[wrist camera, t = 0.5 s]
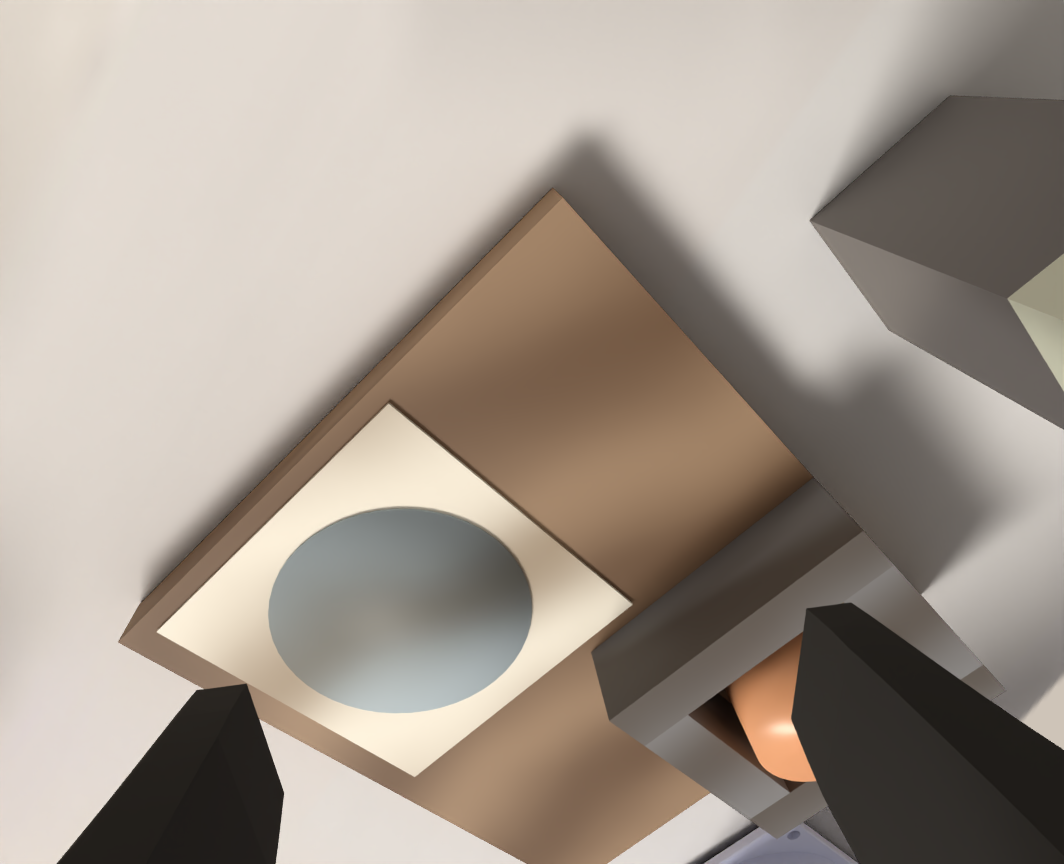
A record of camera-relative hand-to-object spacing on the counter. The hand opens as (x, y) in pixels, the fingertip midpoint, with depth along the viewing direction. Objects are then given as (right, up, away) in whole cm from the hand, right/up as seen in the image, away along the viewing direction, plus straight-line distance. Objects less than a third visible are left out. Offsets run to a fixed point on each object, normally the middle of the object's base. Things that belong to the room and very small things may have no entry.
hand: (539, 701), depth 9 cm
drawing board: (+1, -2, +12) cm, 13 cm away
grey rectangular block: (+9, +9, +8) cm, 15 cm away
